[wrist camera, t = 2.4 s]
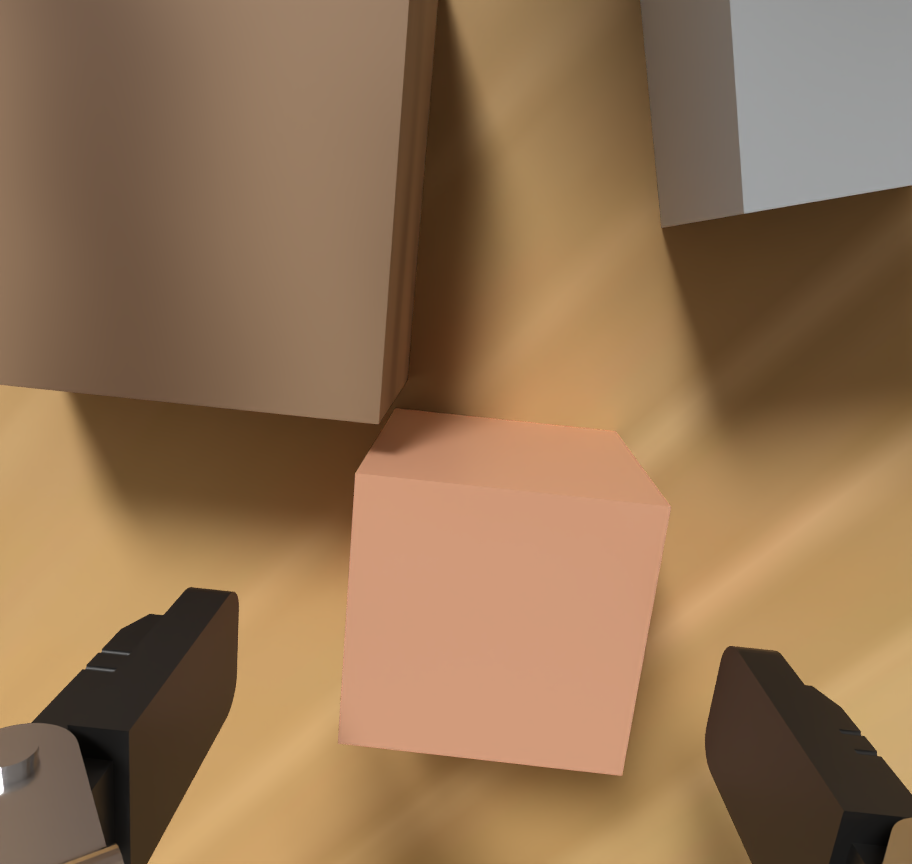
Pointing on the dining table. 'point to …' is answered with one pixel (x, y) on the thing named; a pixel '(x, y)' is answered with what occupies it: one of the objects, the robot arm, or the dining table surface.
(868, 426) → the dining table surface
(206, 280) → the walnut base block
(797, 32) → the slate cube
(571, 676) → the terracotta cube
